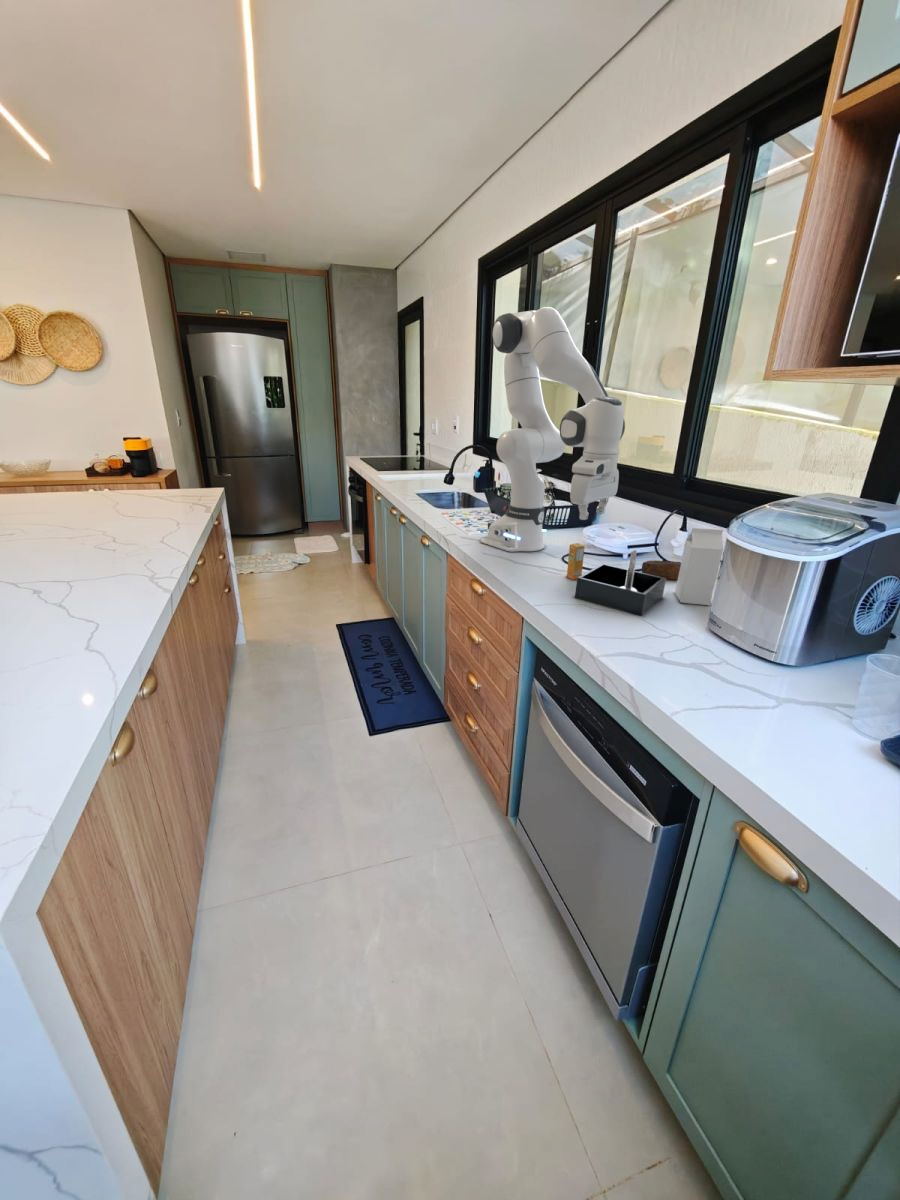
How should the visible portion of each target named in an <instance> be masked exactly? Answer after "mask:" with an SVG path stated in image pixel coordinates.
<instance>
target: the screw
mask: <svg viewBox="0 0 900 1200" xmlns="http://www.w3.org/2000/svg"><path fill="white" fill-rule="evenodd" d="M637 554H638V553H637V550H636V549H632V550H631V552H630V557H629V560H628V565H627V566H628V567H627V568H626V569H627V570H628V571H627V576H626V577H627V578H626V580H625V581H626V582H625V583H626V584H625V586H621V588H625V589H629V590H633V591H636V592H638V591H637V590H636V589H635V588H633V587H632V585H633V584H632V583H633V582H632V581H633V577H634V572H635V571H636V566H637Z"/></svg>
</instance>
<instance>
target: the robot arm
mask: <svg viewBox="0 0 900 1200" xmlns="http://www.w3.org/2000/svg"><path fill="white" fill-rule="evenodd" d="M492 342H493V346H494V347H495V349H496V350H497V351H498V352H499V353H501V354H505V357H504V360H503V361H504V362H503V374H504V386H505V393H506V400H507V401H506V402H507V407H508V412H509V414H510V415H511V416H512V417H513V418H514V419H516V420H517V421H518V423H519V424H520V426H521V427H520V428H513V429H510V430H506V431H504V432H502V433H501V434H499V436H498V439H497V441H496V446H495V447H496V454H497V456H498V458H499V460H500V461H501V462H502V463H503V464H504V465H505V466H506V468H507V471H508V473H509V478H510V486H511V487H510V502H509V504H507V505H504V506H503V509H502V510H503V511H505V513H504V514H503V515H502V516H501V517H499V518H498V519H496V520H494V521H491V522H488V523H487V530H488V531H487V534H486V535H484V536H482V537H481V539H480V543H482V544H486V545H488V546H491V547H494V548H497V549H500V550H503V551H506V552H509V553H511V552H512V553H514V552H515V553H516V552H537V551H541V550H543V549H544V548H545V542H544V537H543V536H544V535H543V532H547V529H543V523H544V518H545V506H544V503H545V501H544V500H545V491H546V483H545V481H544V479H542V477H540V476H539V475H538V472H537V464H541V463H549V462H551V461H554V460H556V459H559V458H560V457H561V456H562V455H563V453H564V451H565V449H566V446H568V447H571V448H583V451H582V456H581V457H580V458H579V459H577V461H575V462H574V463H573V464H572V468H571V472H572V473H573V475H572V478H571V484H570V491H569V492H570V493H569V498H570V499H569V500H570V502H571V504H573V505H578V506H577V507H578V512H579V515H578V517H579V520H581V521H586V520H588V519H589V512H588V507H589V504H591V503H595V502H598V501H599V503H598V505H597V506H596V509H595V510H596V511H595V513H596V514H597V515H603V514H605V512H606V511H605V510H606V508H607V505H608V503H609V500H610V499H609V498H611V497H614V496H616V495H617V493H618V488H619V478H620V472H619V469H618V460H619V454H620V450H619V448H620V447H619V444H620V441H621V440H622V438H623V436H624V434H625V429H626V421H625V409H624V408H625V407H624V403H623V401H622V400H621V399H619V398H617V397H614V396H609V394H608V393H607V391H606V389H605V387H604V385H603V383H602V381H601V380H600V378H599V376H598V374H597V372H596V371H595V369H594V367H593V366H592V365H591V363H590V362H589V361H588V360H587V359H586V358H585V356H583V355H582V353H581V352H580V350H579V349H578V347H577V346H576V344H575V343H574V340H573V338H572V335H571V333H570V331H569V329H568V326H567V324H566V322H565V320H564V317H563V316H562V314H561V313H559V311H558V310H557V309H555V308H553V307H551V306H545V307H541V308H539V309H537V310H527V311H519V312H513V313H511V312H508V313H507V312H506V313H503V314H501V315H499V316H498V317H497V318H496V320H494V323H493V326H492ZM540 373H541V374H542V376H543V377H544V378H546V379H548V380H550V381H553V382H557V383H560V384H562V385H565V386H567V387H570V388H572V389H574V390H575V391H577V392H578V393H579V394H580V396H581V397H582V399H583V402H584V403H585V405H583V406H581V407H577V408H575V409H570V410H568V411H567V412H565V414H564V415H563V417H562V418H561V421H560V423H559V429H558V428H557V427H556V426H555V425H554V423H553V421H552V419H551V417H550V416H549V414H548V411H547V409H546V406H545V403H544V402H545V401H544V397H543V391H542V384H541V376H540Z"/></svg>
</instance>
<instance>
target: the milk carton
mask: <svg viewBox="0 0 900 1200" xmlns="http://www.w3.org/2000/svg"><path fill="white" fill-rule="evenodd" d="M723 532H724V531H723V529H715V528H703V527H702V528H700V527H691V531H690V533H689V535H688V536H687V537H686V539H685V543H684V548H683V553H682V557H681V561H680V562H681V566H680V571H679V576H678V580H676V586H675V591H674V593H675V595H676V597H677V599H678V601H679V602H680V603H682V604H690V605H691V604H692V605H704V606H710V605H711V602H712V598H713V593H714V589H715V585H716V581H717V577H718V573H719V572H718V571H719V569H720V566H721V560H722V555H723V552H724V541H723Z"/></svg>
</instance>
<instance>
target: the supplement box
mask: <svg viewBox="0 0 900 1200" xmlns="http://www.w3.org/2000/svg"><path fill="white" fill-rule="evenodd" d="M585 547H586V546H585V545H584V544H581V543H579V542H576V543H570V544H569V550H568V559H567V570H566V578H568V579H570V580H572V581H575V580H576V581H577V578H578V577H579V576H581V575H583V568H584V567H583V565H584V555H585Z"/></svg>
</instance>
